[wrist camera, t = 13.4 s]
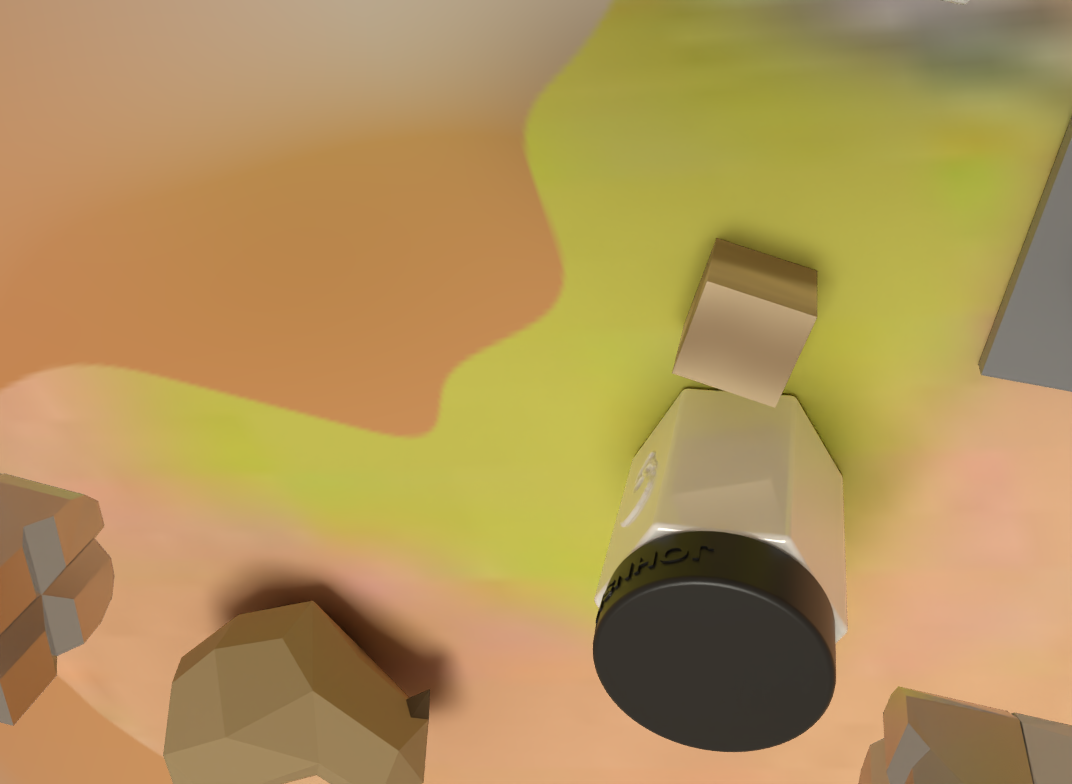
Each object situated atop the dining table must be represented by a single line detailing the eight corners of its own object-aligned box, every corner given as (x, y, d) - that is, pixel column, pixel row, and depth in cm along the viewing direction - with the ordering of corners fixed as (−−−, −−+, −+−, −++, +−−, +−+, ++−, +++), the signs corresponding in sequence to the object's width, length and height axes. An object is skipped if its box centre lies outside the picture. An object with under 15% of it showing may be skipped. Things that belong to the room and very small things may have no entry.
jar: (708, 344, 40) (671, 529, 30) (879, 441, 41) (897, 655, 31) (605, 487, 45) (544, 686, 35) (758, 573, 46) (740, 792, 36)
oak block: (716, 237, 38) (706, 281, 35) (817, 269, 38) (817, 317, 34) (684, 324, 40) (672, 373, 37) (778, 355, 40) (775, 407, 37)
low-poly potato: (184, 626, 59) (241, 816, 58) (71, 674, 48) (139, 909, 47) (418, 551, 57) (480, 746, 56) (355, 584, 46) (431, 827, 45)
